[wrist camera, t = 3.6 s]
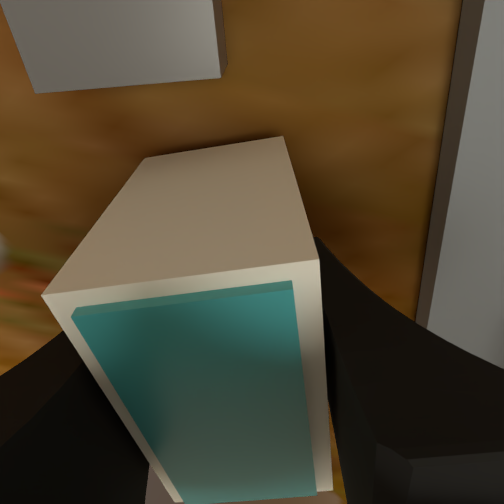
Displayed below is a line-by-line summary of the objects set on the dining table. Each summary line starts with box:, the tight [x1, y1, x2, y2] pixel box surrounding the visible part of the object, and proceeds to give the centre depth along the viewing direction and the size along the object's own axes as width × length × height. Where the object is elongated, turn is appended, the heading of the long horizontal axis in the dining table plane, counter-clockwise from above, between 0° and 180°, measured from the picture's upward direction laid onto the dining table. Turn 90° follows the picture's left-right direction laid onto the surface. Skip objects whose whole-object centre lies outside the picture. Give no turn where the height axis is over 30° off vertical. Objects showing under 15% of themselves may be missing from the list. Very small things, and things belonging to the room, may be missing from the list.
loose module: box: [41, 136, 333, 504], centre depth 9 cm, size 7×4×6 cm, turn 9°
